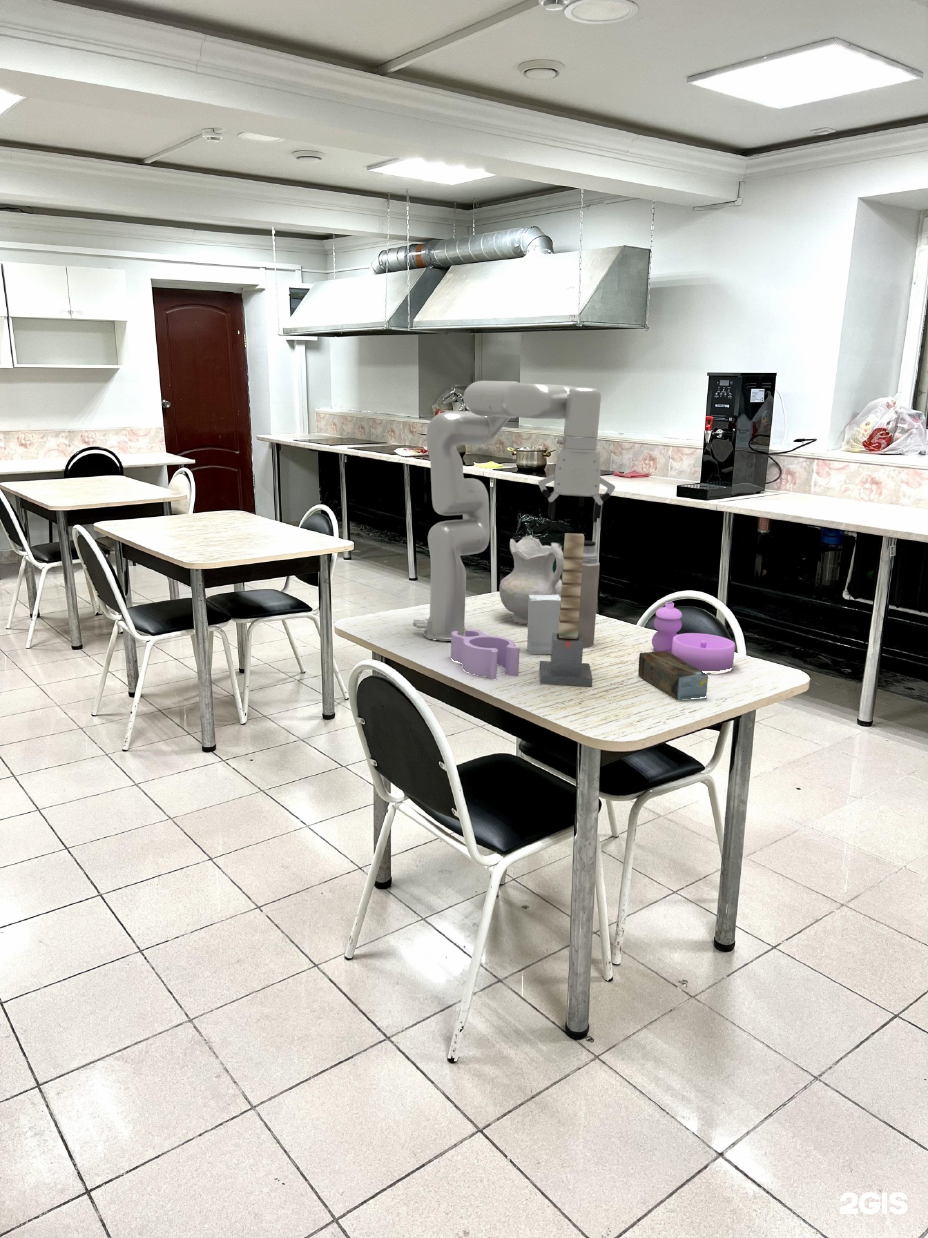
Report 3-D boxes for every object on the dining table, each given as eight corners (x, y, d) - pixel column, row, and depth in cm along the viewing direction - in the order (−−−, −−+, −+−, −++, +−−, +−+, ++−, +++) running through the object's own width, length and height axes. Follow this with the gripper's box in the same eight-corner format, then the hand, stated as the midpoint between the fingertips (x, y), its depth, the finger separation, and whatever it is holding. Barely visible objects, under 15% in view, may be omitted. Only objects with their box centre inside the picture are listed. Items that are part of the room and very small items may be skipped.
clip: (438, 659, 228) (439, 633, 226) (479, 653, 235) (480, 627, 233) (484, 682, 212) (486, 653, 210) (526, 674, 219) (528, 646, 217)
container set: (745, 670, 229) (751, 619, 226) (699, 677, 221) (705, 625, 218) (677, 644, 250) (682, 597, 247) (633, 650, 243) (638, 602, 239)
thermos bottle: (563, 638, 251) (570, 537, 244) (593, 640, 250) (600, 539, 243) (564, 646, 243) (571, 542, 236) (594, 648, 243) (602, 544, 236)
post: (558, 638, 212) (565, 536, 207) (558, 633, 217) (564, 533, 211) (577, 639, 212) (584, 536, 206) (576, 634, 216) (583, 534, 211)
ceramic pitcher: (581, 626, 269) (590, 542, 264) (542, 633, 254) (551, 544, 249) (523, 613, 282) (531, 533, 278) (483, 618, 268) (490, 534, 263)
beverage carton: (675, 702, 203) (678, 674, 202) (635, 676, 221) (637, 650, 219) (707, 700, 206) (710, 672, 204) (664, 674, 223) (667, 648, 222)
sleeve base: (540, 683, 212) (542, 642, 209) (539, 668, 223) (541, 629, 221) (591, 686, 211) (595, 645, 208) (588, 671, 222) (591, 631, 220)
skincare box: (556, 649, 241) (560, 594, 237) (560, 655, 235) (563, 599, 231) (525, 648, 240) (528, 593, 237) (527, 654, 235) (530, 598, 231)
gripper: (541, 443, 201) (535, 520, 205) (620, 447, 200) (613, 525, 204) (540, 440, 208) (535, 515, 212) (617, 445, 207) (610, 520, 211)
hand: (573, 520), depth 208 cm, fingers open, 9 cm apart
